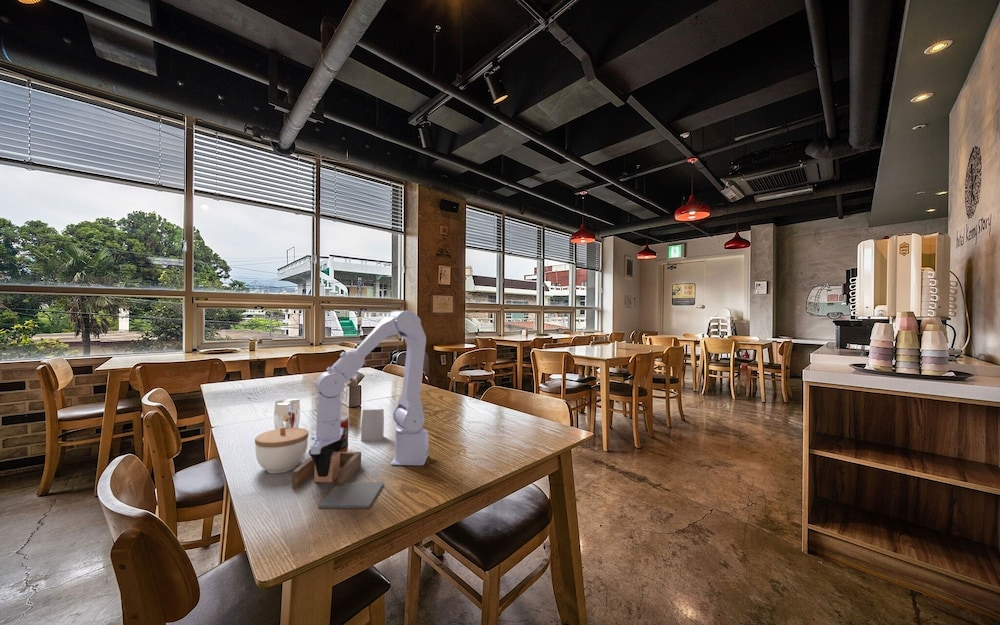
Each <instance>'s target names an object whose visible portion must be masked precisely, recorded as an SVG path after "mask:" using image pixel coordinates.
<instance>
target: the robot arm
mask: <svg viewBox="0 0 1000 625" xmlns="http://www.w3.org/2000/svg"><path fill="white" fill-rule="evenodd" d="M421 320H422V319H421V318H420V317H419V316H418V315H417V314H416V313H415V312H413V311H412V310H392V311H391V312H390V313H389V314H387V316H385V317H383V318H382V319H381V321H379V323H378V324H377V325H376V326H375V327H374V328H373V330H372V331H370V333H369V334H368V335H367V336H366V337H365V338H364V340H363V341H362V342H360V343H359V345H357V347H356V348H354V349H347V351H346V352H345V351H342V352H340V354H339V356H340V358H338V360H336V362H334V364H332V365H331V366H328V367H327V368H326V372H323V373H321V374H320V375H319V376H318V377H317V379H316V382H315V383H314V385H315V388H316V390H317V391H318V392H317V402H316V428H315V432H316V433H315V434H313V435H312V436H311V437H310V439H311V440H312V441H313V443H312V445H310V449H309V451H308V454H309V456H310V457H312V459H313V461H314V463H315V466H316V470H317V474H318V477H326V476H327V475H328V472H329V466H330V460H331V457H332V454H333V452H340V451H341V448H342V446H343V444H344V442H345V438H341V436H342V435H343V428H341V415H342V399H341V398H342V393H343V392H344V389H345V387H346V386H345V384H346V383H348V382H349V381H350V380H351V379H352V378H353V377H354V376H355V375H356V374H357V372H358V371H360V369H361V368H362V367H363V366H364V365H365V360H366V359H365V358H366V357H367V356H368V355H369V354H370V353H371V352H372V351H374V349H375V348H376V347H377V346H379V344H380V343H381V342H382V341H384V340H385V339H386V338H387V337H393V336H396V335H399V336H400V337H401V338H402V339H403V340H404V341H405V342H406V344H407V346H406V354H405V363H404V372H403V380H402V388H401V389H402V390H401V396H400V397H399V399H397V406H396V407H395V408H394V411H393V415H392V419H393V420H394V422H395V424H396V426H395V435H394V436H395V440H394V444H395V445H394V446H395V447H394V457H393V459H392V461H391V462H390V466H424V465H425V463H426V461H427V459H428V457H429V437H430V436H429V430H428V429H423V426H424V423H425V420H426V419H425V415H424V410H423V408H424V406H423V403H422V400H421V389H422V380H423V372H424V362H425V355H426V354H425V353H426V346H427V345H426V344H427V335H426V333H425V331H424V328H423V326H422V321H421Z"/></svg>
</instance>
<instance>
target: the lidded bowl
mask: <svg viewBox="0 0 1000 625" xmlns="http://www.w3.org/2000/svg"><path fill="white" fill-rule="evenodd" d="M308 441H309V430H308V429H306V428H301V427H298V428H285V427H281V428H280V429H276V430H275V429H271V430H268V431H264V432H262V433H260V434H258V435H256V436H255V438H254V445H255V450H254V451H255V457H256V460H257V462H258V465H260V467H261V468H263V469H264V470H266V472H267V473H268V474H269V473H270V474H280V473H281V474H282V473H287V472H289V471H293V469H294V470H295V469H296V468H297V467H298V466H297V465H298V464H299V463H300V462H301V461H302V460H303V459H304V457H305V455H306V452H307V448H308V443H309V442H308Z"/></svg>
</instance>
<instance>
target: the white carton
mask: <svg viewBox="0 0 1000 625" xmlns="http://www.w3.org/2000/svg"><path fill="white" fill-rule="evenodd" d="M300 404H301V403H300V399H297V398H287V399H280V400H277V401H275V404H274V410H273V411H274V412H273V413H274V414H273V424H274V430H276V429H280V428H281V427H285V428H299V424H300V417H301V406H300Z"/></svg>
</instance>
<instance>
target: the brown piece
mask: <svg viewBox="0 0 1000 625" xmlns="http://www.w3.org/2000/svg"><path fill="white" fill-rule="evenodd" d="M361 466H362V452H361V451H347V452H340V470H339V471H338V472H337V478H336V480H337V481H336V485H337V486H342V485H343V484H344V483H345V482H350V480H351V478H352V477H353V476H354V475H355V474H356V473H357V471H358V470H359V469H360V468H361ZM314 471H315V463H314V461H313V459H312V457H311V456H310V457H309V458H307V459H306V460H305V461H304V462H302V463H301V464H300V465H299V466H296V467H295V468H294V470H292V475H291V476H292V479H291V480H292V483H291V488H293V489H298V488H299V487H300V486H301V485H302V484H303V483H304V482H306V481H307V480H308V479H309V478H310V477H311V476H313V474H314Z"/></svg>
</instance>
